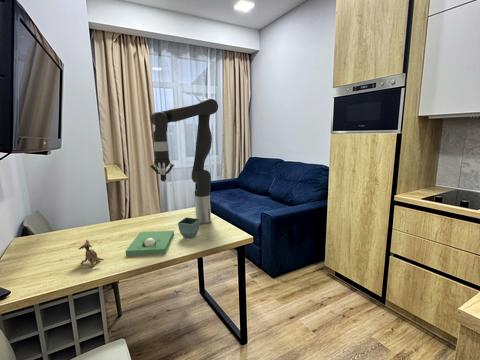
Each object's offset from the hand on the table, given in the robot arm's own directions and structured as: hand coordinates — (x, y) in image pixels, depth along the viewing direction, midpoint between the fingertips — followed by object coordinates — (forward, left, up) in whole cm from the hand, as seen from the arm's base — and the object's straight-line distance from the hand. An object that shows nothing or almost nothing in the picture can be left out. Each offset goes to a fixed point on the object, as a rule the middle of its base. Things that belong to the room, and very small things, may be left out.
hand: (163, 181), depth 140 cm
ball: (+4, +22, -26) cm, 35 cm away
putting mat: (+4, +18, -29) cm, 34 cm away
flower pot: (-14, +10, -29) cm, 34 cm away
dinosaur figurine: (+26, +34, -29) cm, 52 cm away
